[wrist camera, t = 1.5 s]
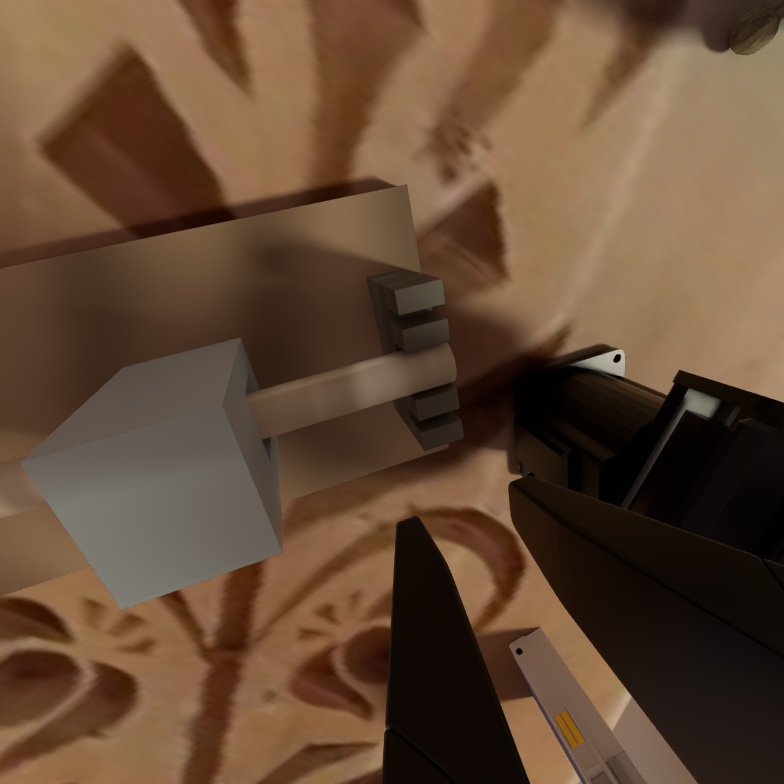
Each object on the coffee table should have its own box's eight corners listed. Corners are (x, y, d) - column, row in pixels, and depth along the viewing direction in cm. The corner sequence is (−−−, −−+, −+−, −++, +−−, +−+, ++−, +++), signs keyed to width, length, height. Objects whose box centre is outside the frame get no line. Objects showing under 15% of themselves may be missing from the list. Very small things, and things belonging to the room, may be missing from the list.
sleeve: (240, 337, 15) (221, 405, 9) (278, 440, 16) (282, 552, 11) (122, 367, 14) (20, 462, 8) (175, 471, 16) (121, 609, 10)
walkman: (562, 678, 33) (704, 895, 22) (533, 697, 33) (662, 925, 22) (540, 624, 29) (696, 849, 19) (507, 643, 29) (645, 883, 18)
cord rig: (399, 186, 16) (468, 162, 11) (441, 438, 21) (504, 514, 16) (-392, 350, 12) (-990, 457, 6) (-111, 618, 17) (-305, 815, 11)
